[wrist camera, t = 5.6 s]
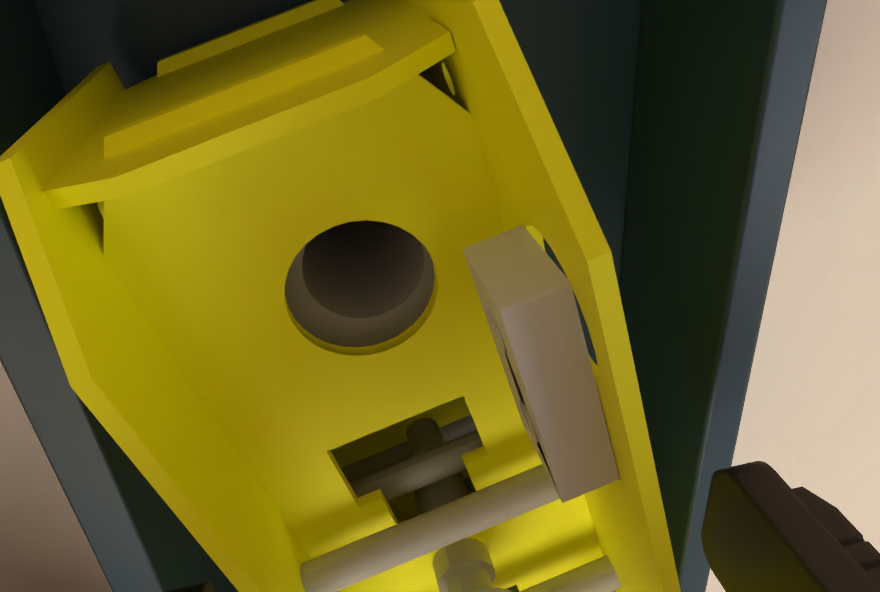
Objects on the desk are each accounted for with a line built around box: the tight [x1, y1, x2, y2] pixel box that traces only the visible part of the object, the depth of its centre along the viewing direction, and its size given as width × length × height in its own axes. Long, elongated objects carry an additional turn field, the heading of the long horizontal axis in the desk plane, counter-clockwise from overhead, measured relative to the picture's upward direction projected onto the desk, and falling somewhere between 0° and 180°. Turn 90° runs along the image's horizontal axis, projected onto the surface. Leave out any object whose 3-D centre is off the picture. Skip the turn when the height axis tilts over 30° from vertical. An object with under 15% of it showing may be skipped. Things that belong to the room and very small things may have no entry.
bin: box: [0, 0, 827, 592], centre depth 14 cm, size 12×22×4 cm, turn 4°
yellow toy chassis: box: [0, 0, 681, 592], centre depth 12 cm, size 16×6×8 cm, turn 18°
